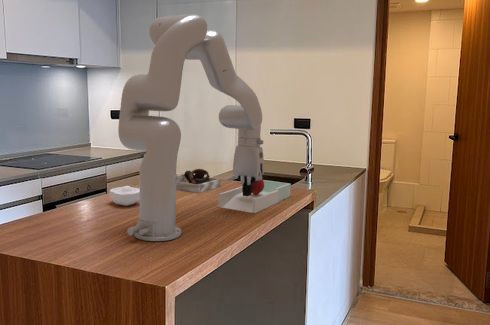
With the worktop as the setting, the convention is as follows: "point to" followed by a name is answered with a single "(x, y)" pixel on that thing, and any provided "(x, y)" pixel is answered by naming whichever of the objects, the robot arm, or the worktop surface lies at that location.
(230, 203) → the white piece
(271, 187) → the tray
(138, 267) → the worktop surface
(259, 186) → the red round fruit
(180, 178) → the mug stand
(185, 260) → the worktop surface
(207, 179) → the pottery mug
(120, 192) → the cell model
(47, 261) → the worktop surface
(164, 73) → the robot arm
